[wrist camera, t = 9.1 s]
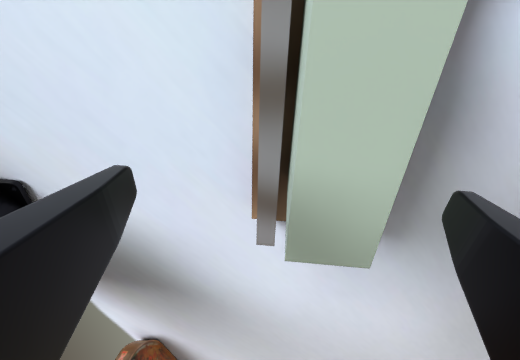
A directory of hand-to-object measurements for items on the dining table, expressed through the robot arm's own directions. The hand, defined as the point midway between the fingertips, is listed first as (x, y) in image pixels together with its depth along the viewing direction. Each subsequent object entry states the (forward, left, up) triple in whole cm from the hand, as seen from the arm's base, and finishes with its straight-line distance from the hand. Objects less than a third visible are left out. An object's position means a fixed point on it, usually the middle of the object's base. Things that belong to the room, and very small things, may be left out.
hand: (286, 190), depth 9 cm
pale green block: (0, -2, -10) cm, 10 cm away
